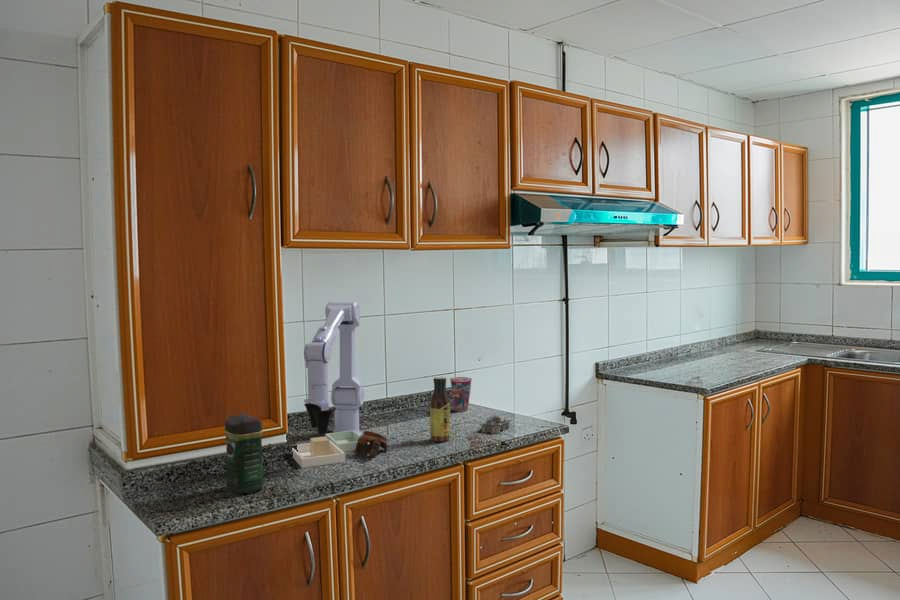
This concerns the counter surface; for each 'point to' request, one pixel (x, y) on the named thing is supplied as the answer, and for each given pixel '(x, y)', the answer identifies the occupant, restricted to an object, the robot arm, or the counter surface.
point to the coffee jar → (244, 454)
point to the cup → (461, 393)
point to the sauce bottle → (440, 412)
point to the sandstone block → (319, 446)
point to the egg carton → (494, 424)
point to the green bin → (344, 440)
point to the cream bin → (307, 460)
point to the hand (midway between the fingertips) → (318, 430)
